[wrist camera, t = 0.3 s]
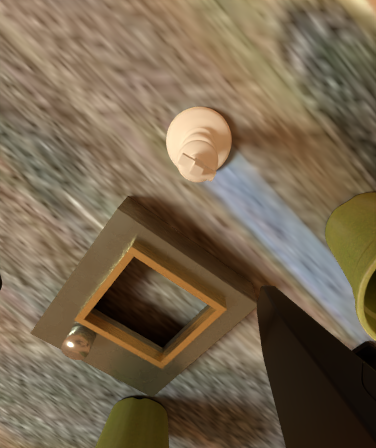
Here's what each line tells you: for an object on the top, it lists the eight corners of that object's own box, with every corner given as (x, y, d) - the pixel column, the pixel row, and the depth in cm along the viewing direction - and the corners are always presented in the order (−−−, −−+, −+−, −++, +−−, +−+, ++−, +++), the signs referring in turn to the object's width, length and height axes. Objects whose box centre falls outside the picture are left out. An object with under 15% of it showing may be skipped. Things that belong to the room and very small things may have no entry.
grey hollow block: (252, 283, 25) (262, 319, 21) (156, 371, 30) (149, 413, 26) (127, 196, 22) (110, 216, 18) (47, 310, 27) (19, 347, 23)
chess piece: (185, 93, 19) (171, 78, 9) (244, 128, 19) (282, 147, 10) (155, 155, 20) (118, 193, 11) (210, 185, 21) (217, 243, 12)
